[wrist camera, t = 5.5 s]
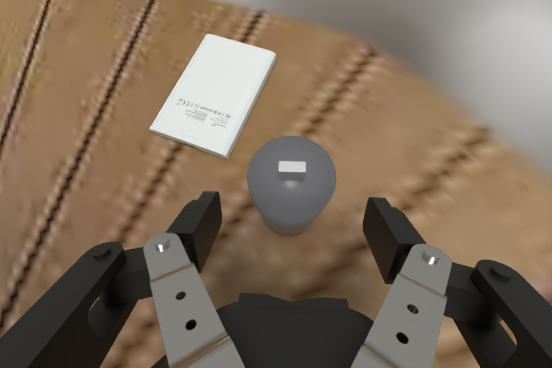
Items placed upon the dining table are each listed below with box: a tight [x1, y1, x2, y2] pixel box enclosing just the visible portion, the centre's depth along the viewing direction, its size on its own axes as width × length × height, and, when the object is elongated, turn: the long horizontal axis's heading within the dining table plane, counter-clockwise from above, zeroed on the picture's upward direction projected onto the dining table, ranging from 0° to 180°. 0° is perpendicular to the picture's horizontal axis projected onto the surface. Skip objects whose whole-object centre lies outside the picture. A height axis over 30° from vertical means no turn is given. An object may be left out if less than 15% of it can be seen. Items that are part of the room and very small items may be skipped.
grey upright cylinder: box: [247, 136, 336, 236], centre depth 15 cm, size 4×4×10 cm
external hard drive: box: [149, 34, 276, 160], centre depth 24 cm, size 2×8×12 cm
